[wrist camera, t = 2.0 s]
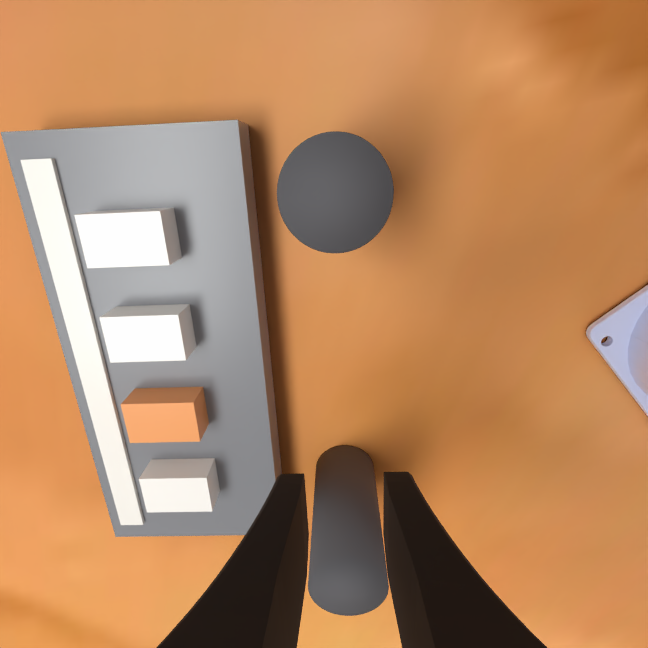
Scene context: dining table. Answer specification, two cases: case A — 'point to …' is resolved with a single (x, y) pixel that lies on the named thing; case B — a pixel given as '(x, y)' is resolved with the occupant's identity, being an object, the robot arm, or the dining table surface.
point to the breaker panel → (159, 315)
